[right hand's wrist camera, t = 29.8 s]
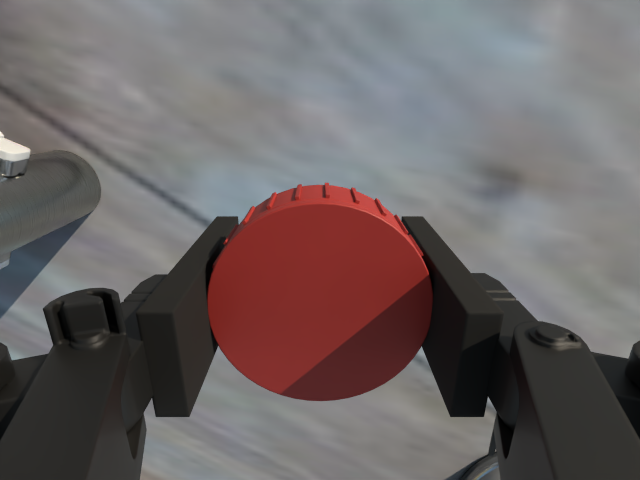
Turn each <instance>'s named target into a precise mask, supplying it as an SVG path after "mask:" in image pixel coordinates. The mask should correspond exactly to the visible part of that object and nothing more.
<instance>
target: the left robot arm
mask: <svg viewBox="0 0 640 480" xmlns="http://www.w3.org/2000/svg"><path fill="white" fill-rule="evenodd" d="M30 152H31V150H30V149H29V148H27V147H24V146H22V145H20V144H17V143H15V142H13V141H10V140H8V139H5V138H4V135H3V134H2V133H1V132H0V175H3V176H11V177H12V176H17V175H18V174H19V173H20V174H25V173H26V171H27V167H28V162H29V157H30ZM10 255H11V252H9V253H7V254H5V255H3V256H1V257H0V269H2V268H4V267H5V266H7V265H9V261H10Z"/></svg>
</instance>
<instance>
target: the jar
mask: <svg viewBox="0 0 640 480" xmlns="http://www.w3.org/2000/svg"><path fill="white" fill-rule="evenodd" d="M100 195H101V188H100V183H99V180H98V177H97V175H96V173H95V171H94V170H93V169H92V167H91V166H90V165H89V164H88V163H87V162H86V161H85V160H83V159H82V158H81V157H79V156H77V155H75V154H73V153H70V152H67V151H60V150H56V151H49V152H44V153H38V154H33V155H30V157H29V162H28V167H27V171H26V173H25V174H20V173H19V174H18V175H17V176H12V177H11V176H3V175H0V257H1V256H3V255H5V254H7V253H9V252H11V251H14V250H16V249H18V248H20V247H22V246H24V245H26V244H28V243H30V242H32V241H34V240H36V239H38V238H40V237H42V236H44V235H46V234H48V233H51V232H53V231H55V230H57V229H59V228H61V227H63V226H65V225H67V224H69V223H71V222H73V221H75V220H77V219H79V218H81V217H83V216H85V215H87V214H89V213H91V212H92V211H93V210H94V209H95V208H96V206H97V205H98V202H99V200H100Z"/></svg>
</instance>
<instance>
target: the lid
mask: <svg viewBox="0 0 640 480" xmlns="http://www.w3.org/2000/svg"><path fill="white" fill-rule="evenodd" d="M407 234H408V231H407V229H406V228H405V226H404V225H403V223H402V222H401V220H400V219H399V217H398V216H397V215H395V216H393V215H392V213H390V212H389V211H388V210H387V209H386V208H385V207H384V206H382V204H381V203H380V201H379V200H378V199H377V198H376V199H375V200H373V199H372V198H370V197H368V196H366V195H364V194H362V193H359V192H356V189H355V188H351V190H350V189H347V188H343V187H337V186H330V185H329V183H325V185H311V186H303V187H302V185H301V184H300V185H298V186H297V188H293V189H290V190H287V191H284V192H281V193H278V194H276V192H275V193H273V194H272V196H271V198H269V199H267V200H265V201H264V202H262V203H261V204H259V205H258V206H257V207H254V206H253V207H251V208H250V210H249V212H248V213H247V215H246V217H245V218H244V219H243V221H242V222H241V223H240V224H239V226H238V225H237V224H236V225H235V226H234V228H233V229H232V231H231V233H230V234H229V236H228V237H227V239H226V240H225V242H224V243H223V244H224V245H226V246H224V248H223V249H222V251H221V253H220V254H219V256H218V257H217V259H216V261H215V262H214V264H213V266H212V268H213V271H212V273H211V277H210V281H209V285H208V291H207V306H208V315H209V323H210V327H211V330H212V332H213V335H214V338H215V340H216V342H217V344H218V345H219V347H220V349H221V351H222V352H223V353H224V355H225V356H226V358H227V359H228V360H229V361H230V362H231V363H232V365H233V366H234V367H235V368H236V369H237V370H238V371H240V372H241V373H242V374H243V375H244V376H246V377H247V378H248V379H250V380H251V381H253V382H254V383H256V384H257V385H259V386H261V387H263V388H265V389H267V390H269V391H272V392H275V393H277V394H280V395H283V396H287V397H291V398H295V399H301V400H309V401H330V400H339V399H345V398H350V397H353V396H357V395H361V394H363V393H366V392H368V391H371V390H373V389H375V388H377V387H379V386H381V385H383V384H384V383H386V382H387V381H389V380H390V379H392V378H393V377H395V376H396V375H397V374H398V373H399V372H401V371H402V370H403V369H404V368H405V367H406V366H407V365H408V364H409V363H410V361H411V360H412V359H413V358H414V357H415V355H416V354H417V352H418V351H419V349H420V348H421V346H422V344H423V342H424V340H425V338H426V336H427V333H428V330H429V327H430V321H431V313H432V304H433V289H432V283H431V279H430V276H429V272H428V270H427V267H426V265H425V263H424V261H423V259H422V257H421V256H423V253H422V251H421V250H420V248H419V247H418V245H417V244H416V242H415V241H414V239H413V238H412V236H411V235H407Z"/></svg>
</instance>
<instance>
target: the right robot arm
mask: <svg viewBox="0 0 640 480" xmlns="http://www.w3.org/2000/svg"><path fill="white" fill-rule="evenodd" d="M401 222H402V223H403V225H404V226H405V228H406V229H407V231H408V234H407V235H411V236H412V238H413V239H414V241H415V242H416V244H417V245H418V247H419V248H420V250H421V251H422V253H423V256H421V257H422V259H423V261H424V263H425V265H426V267H427V270H428V272H429V276H430V279H431V283H432V289H433V304H432V313H431V321H430V327H429V330H428V333H427V336H426V338H425V340H424V342H423V344H422V348H423V350H424V353H425V355H426V358H427V360H428V363H429V365H430V368H431V370H432V373H433V375H434V377H435V380H436V382H437V385H438V387H439V390H440V392H441V395H442V397H443V400H444V402H445V405H446V407H447V409H448V412H449V414H450V417H484V414H485V408H486V403H487V398H488V397H489V399H490V400H491V402H492V404H493V406H494V407H495V409H496V411H497V413H496V418H495V423H494V428H493V433H492V437H491V442H490V447H489V453H488V456H487V457H485V458H484V459H482V460H481V461H479V462H477V463H476V464H475V465H474V466H472V467H471V468H470V469H469V470H468V471H467V472H466V473H465V474H464V475H463V476H462V478H461V479H460V480H640V341H638V342H637V343H635V344H634V345H633V347H632V350H631V353H630V356H629V359H627V358H621V357H616V356H610V355H605V354H599V353H594V352H591V351H590V350H589V348H588V346H587V344H586V343H585V342H584V341H583V340H582V339H581V338H580V337H579V336H578V335H576V334H574V333H573V332H571V331H570V330H568V329H565V328H563V327H560V326H558V325H555V324H550V323H546V322H540V321H537V320H536V319H535V318H534V317H533V316H532V315H531V314H530V312H529V311H528V310H527V309H526V308H525V307H524V306H523V305H522V304H521V303H520V302H519V301H516V298H515V297H514V296H513V295H512V294H511V293H509V292H508V290H507V289H506V288H505V287H504V286H503V285H502V284H501V282H500V281H498V280H496V279H494V278H492V277H491V276H489V275H487V274H485V273H470V272H469V270H468V269H467V268H466V267H465V266H464V265H463V263H462V262H461V261H460V260H459V259H458V258H457V256H456V255H455V254H454V253H453V252H452V250H451V249H450V248H449V247H448V246H447V245H446V243H445V242H444V241H443V240H442V239H441V237H440V236H439V235H438V234H437V233H436V232H435V230H434V229H433V228H432V227H431V226H430V225H429V223H428V222H427V221H426V220H425V219H424V217H402V221H401ZM236 224H237V225H238V226H239V224H238V217H216V218H215V220H214V221H213V222H212V223H211V224H210V225H209V227H208V228H207V229H206V230H205V231H204V232H203V234H202V235H201V236H200V237H199V238H198V240H197V241H196V242H195V243H194V244H193V245H192V247H191V248H190V249H189V250H188V251H187V252H186V254H185V255H184V256H183V257H182V258H181V260H180V261H179V262H178V263H177V264H176V265H175V267H174V268H173V269H172V270H171V271H170V273H169V274H168V275H154V276H152V277H150V278H148V279H146V280H145V281H143V282H141V283H140V284H139V285H138V286H137V287H136V288H135V289H134V290H133V291H132V294H129V295H128V296H127V297H126V298H125V299H124V302H122V303H121V304H120V299H119V294H118V293H117V292H116V291H114V290H113V289H107V288H90V289H85V290H79V291H75V292H72V293H69V294H66V295H63V296H61V297H59V298H57V299H55V300H53V301H51V302H50V303H49V304H48V305H46V306H45V307H44V308H43V311H44V315H45V318H46V321H47V325H48V328H49V332H50V335H51V338H52V342H53V347H52V348H51V350H50V352H49V354H45V355H39V356H34V357H29V358H23V359H18V360H11V357H10V354H9V351H8V348H7V346H5V345H4V344H2V343H0V480H140V473H141V466H142V459H143V452H144V444H145V437H146V423H145V418H144V411H145V409H146V407H147V405H148V404H149V402H150V400H151V398H152V400H153V405H154V410H155V415H156V417H189V416H190V414H191V411H192V409H193V406H194V404H195V401H196V399H197V397H198V394H199V392H200V389H201V387H202V384H203V382H204V379H205V377H206V374H207V372H208V369H209V367H210V365H211V362H212V360H213V357H214V355H215V352H216V350H217V347H218V344H217V342H216V340H215V338H214V335H213V332H212V330H211V327H210V323H209V315H208V306H207V291H208V285H209V281H210V277H211V273H212V271H213V268H212V266H213V264H214V262H215V261H216V259H217V257H218V256H219V254H220V253H221V251H222V249H223V248H224V246H226V245H224V244H223V243H224V242H225V240H226V239H227V237H228V236H229V234H230V233H231V231H232V229H233V228H234V226H235V225H236ZM495 449H496V451H497V452H496V453H495Z"/></svg>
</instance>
